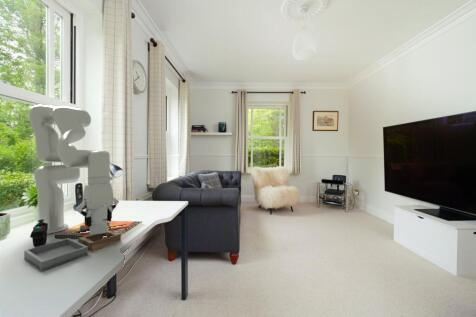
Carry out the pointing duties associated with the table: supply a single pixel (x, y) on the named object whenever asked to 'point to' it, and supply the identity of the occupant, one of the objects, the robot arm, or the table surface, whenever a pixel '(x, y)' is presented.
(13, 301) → the table surface
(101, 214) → the skincare box
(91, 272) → the table surface
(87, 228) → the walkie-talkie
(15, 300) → the table surface
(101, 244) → the holder
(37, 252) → the tray
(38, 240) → the controller
